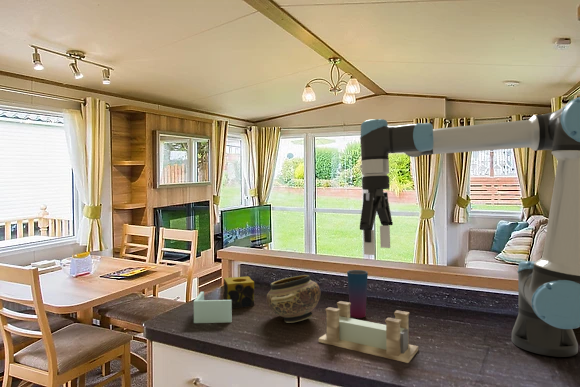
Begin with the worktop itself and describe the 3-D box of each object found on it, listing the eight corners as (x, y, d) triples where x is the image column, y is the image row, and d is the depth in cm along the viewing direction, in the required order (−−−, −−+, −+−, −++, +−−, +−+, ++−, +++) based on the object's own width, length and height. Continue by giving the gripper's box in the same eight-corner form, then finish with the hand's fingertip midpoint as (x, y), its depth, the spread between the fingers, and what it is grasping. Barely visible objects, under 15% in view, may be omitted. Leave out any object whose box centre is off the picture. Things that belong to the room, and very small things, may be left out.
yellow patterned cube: (223, 304, 145) (222, 277, 145) (249, 301, 148) (249, 275, 148) (226, 312, 135) (226, 283, 135) (254, 309, 138) (254, 281, 138)
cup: (368, 320, 125) (367, 274, 125) (347, 319, 126) (346, 273, 126) (368, 313, 131) (367, 270, 131) (348, 312, 133) (347, 269, 133)
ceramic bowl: (303, 338, 110) (302, 286, 110) (250, 329, 118) (250, 280, 118) (332, 313, 132) (331, 270, 132) (286, 307, 140) (285, 266, 140)
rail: (408, 348, 100) (407, 329, 100) (403, 353, 97) (403, 333, 97) (332, 331, 112) (332, 314, 112) (326, 336, 109) (326, 318, 109)
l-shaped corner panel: (231, 323, 123) (231, 300, 123) (193, 324, 123) (193, 301, 123) (235, 312, 135) (235, 290, 135) (201, 312, 135) (200, 291, 135)
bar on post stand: (418, 350, 101) (418, 313, 101) (408, 363, 94) (407, 323, 93) (333, 331, 115) (333, 299, 115) (318, 342, 107) (318, 307, 107)
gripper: (377, 177, 121) (379, 244, 121) (345, 175, 99) (348, 256, 99) (401, 175, 117) (403, 245, 117) (373, 173, 95) (376, 258, 95)
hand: (377, 251), depth 108 cm, fingers open, 13 cm apart
